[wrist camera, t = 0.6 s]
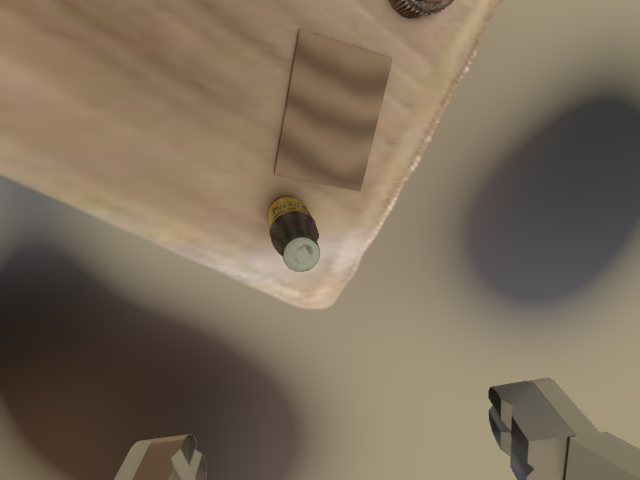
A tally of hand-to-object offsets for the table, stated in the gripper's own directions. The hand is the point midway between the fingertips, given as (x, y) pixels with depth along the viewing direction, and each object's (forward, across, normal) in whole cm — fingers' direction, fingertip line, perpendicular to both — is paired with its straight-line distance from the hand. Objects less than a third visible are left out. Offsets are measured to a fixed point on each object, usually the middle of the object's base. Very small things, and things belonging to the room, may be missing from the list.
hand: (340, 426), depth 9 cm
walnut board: (+48, -3, -6) cm, 49 cm away
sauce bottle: (+46, +7, +7) cm, 47 cm away
